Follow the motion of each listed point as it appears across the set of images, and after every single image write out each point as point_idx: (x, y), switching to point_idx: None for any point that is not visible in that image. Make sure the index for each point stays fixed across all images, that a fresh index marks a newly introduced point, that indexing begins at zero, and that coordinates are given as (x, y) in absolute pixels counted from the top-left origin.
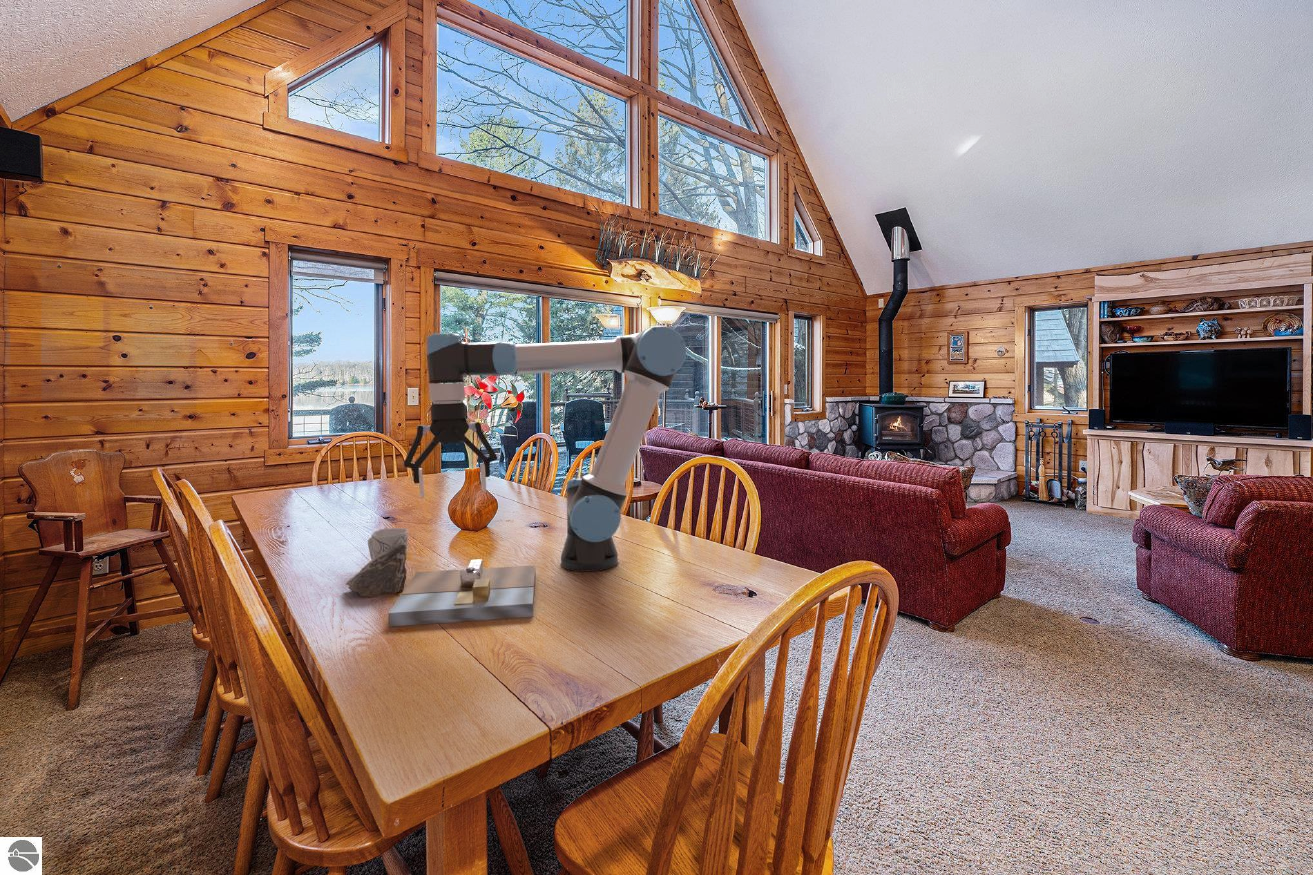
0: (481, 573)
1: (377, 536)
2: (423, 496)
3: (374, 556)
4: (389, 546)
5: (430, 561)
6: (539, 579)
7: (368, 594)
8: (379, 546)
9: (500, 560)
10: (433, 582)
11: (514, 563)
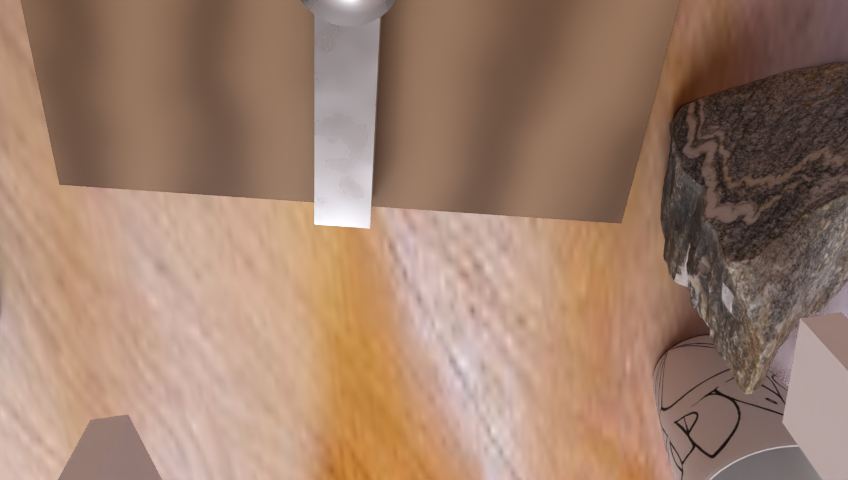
0: None
1: None
2: (817, 331)
3: None
4: (760, 406)
5: (553, 430)
6: None
7: (823, 70)
8: None
9: (278, 389)
10: (546, 46)
11: (213, 344)
